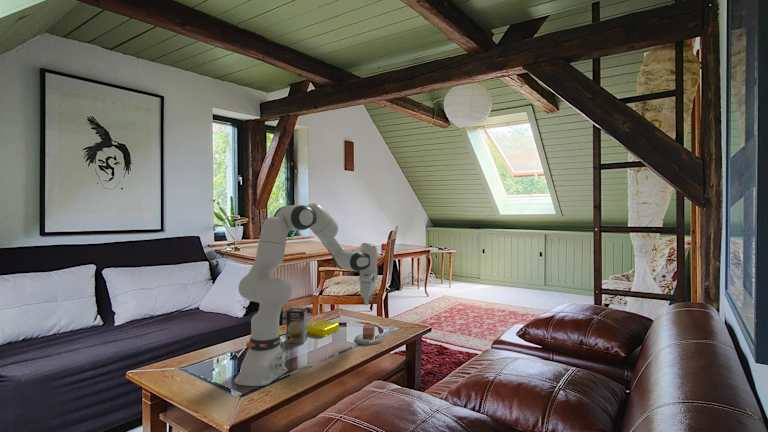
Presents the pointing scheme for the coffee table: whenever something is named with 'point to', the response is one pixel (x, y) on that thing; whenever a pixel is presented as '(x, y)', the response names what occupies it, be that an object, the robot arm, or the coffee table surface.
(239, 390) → the coffee table surface
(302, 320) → the coffee box
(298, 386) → the coffee table surface
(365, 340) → the dish
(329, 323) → the element tile
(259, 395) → the coffee table surface
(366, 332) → the block
